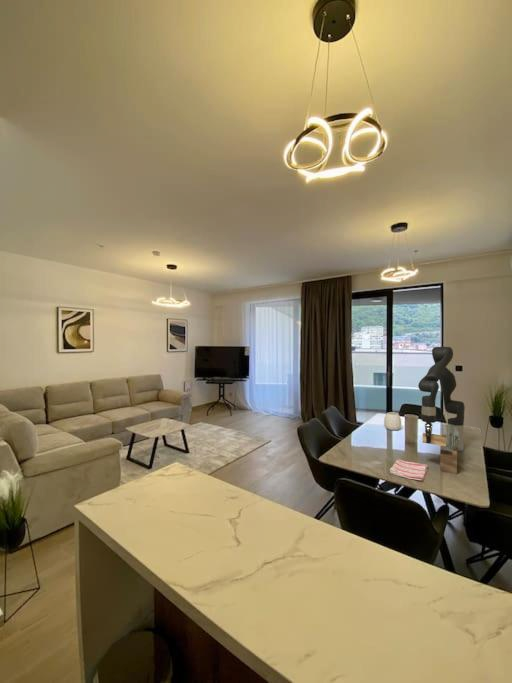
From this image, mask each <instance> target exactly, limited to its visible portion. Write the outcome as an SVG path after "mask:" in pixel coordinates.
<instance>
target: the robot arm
mask: <svg viewBox="0 0 512 683" xmlns="http://www.w3.org/2000/svg"><path fill="white" fill-rule="evenodd" d="M431 356H432V359H433V362H434V364H433V365H431V366H430V368H429V369H428V371H427V372H426V374H425V375H424V376H423V377H422V379H420V380H419V381H418V386H417V387H418V389H419V391H421V392H424V393H430V395H429V394H428V395H423V396H422V397H421V421H422V422H424V423H425V424H424V429H425V430H424V433H426V443H425V444H428V443H431V434H433V424H434V423H436V422H437V408H436V400H437V399H436V398H437V395H438V392H439V388H441V391H442V396H443V404H444V410H445V412H447V413H448V414H453V415H456V416H455V417H449V418H447V425H450V432H452V441H453V431H454V427H457V429H456V430H457V432H459V436H458V437H459V444H458V448H457V452H459V451H460V452H461V451H464V450H465V449H464V448H465V442H464V440H465V432H464V429H465V428H464V425H465V423H464V422H465V408H466V407H465V403H464V402H463V401H459V400H454V399H452V397H451V395H452V394H453V392H454V391H455V389H456V387H457V380H456V376H455V374H454V373H453V372H452V371H451V370H450V369H449V368H448V367H447V366H448V365H449V363H450V362H451V361H452V360H453V358H454V350H453V348H452V347H451V346H434V347H433V348H432V349H431ZM438 382H439V383H438ZM439 384H440V385H439ZM427 433H428V434H430V435H427ZM447 445H449V444H448V443H447ZM453 446H454V443H453Z"/></svg>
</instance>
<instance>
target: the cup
mask: <svg viewBox="0 0 512 683" xmlns="http://www.w3.org/2000/svg"><path fill="white" fill-rule="evenodd" d="M383 425H384V427H385V428H386V429H387V430H390V431H398V430H400V429H401V428H402V418H401V416H400V414H399V413H398V412H393V411H391V412H386V414H385V416H384V419H383Z"/></svg>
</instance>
